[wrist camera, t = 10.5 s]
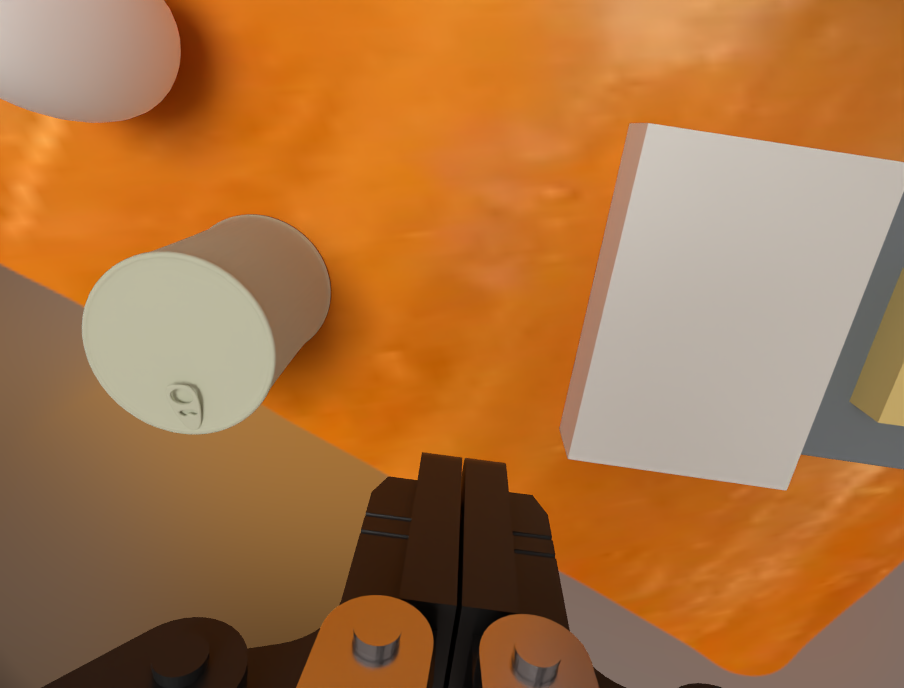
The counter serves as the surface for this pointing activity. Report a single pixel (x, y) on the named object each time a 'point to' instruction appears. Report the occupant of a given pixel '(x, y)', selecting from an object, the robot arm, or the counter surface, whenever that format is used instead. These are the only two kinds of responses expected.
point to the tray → (837, 419)
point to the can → (205, 322)
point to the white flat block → (722, 302)
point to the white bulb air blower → (87, 57)
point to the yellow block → (885, 366)
